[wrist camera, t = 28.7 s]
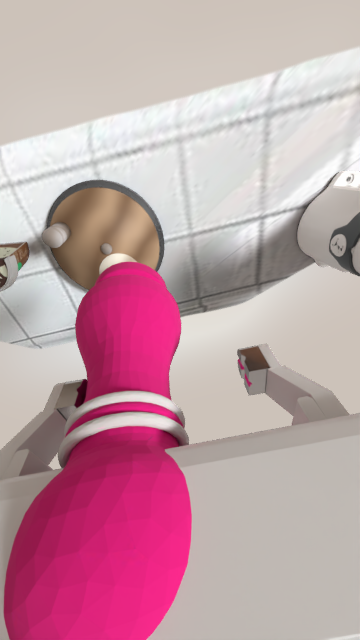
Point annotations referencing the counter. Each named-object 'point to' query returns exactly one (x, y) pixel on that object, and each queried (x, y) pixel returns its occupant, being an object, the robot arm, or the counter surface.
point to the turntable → (100, 234)
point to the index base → (121, 189)
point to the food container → (11, 262)
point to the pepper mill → (110, 480)
